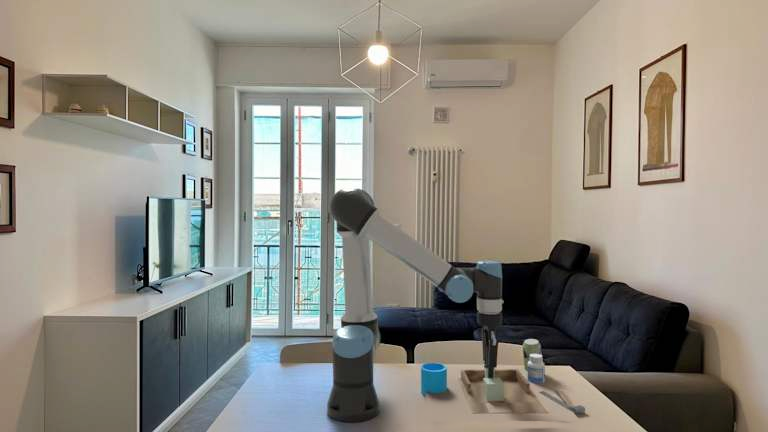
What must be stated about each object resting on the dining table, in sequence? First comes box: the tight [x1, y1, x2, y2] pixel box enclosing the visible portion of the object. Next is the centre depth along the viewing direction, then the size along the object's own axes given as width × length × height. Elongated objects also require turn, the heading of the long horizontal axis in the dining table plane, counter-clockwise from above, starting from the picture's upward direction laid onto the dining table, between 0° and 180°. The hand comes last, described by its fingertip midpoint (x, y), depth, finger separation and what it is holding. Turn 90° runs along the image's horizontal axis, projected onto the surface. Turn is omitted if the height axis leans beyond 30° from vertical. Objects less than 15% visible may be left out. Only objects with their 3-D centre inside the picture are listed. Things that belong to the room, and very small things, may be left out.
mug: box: [420, 362, 448, 397], centre depth 151 cm, size 12×8×8 cm
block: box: [483, 378, 504, 401], centre depth 141 cm, size 5×5×5 cm
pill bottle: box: [527, 354, 546, 384], centre depth 155 cm, size 6×5×10 cm
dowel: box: [556, 390, 575, 407], centre depth 141 cm, size 2×12×2 cm, turn 176°
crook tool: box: [538, 390, 586, 416], centre depth 139 cm, size 5×14×2 cm, turn 19°
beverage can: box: [522, 338, 542, 372], centre depth 165 cm, size 6×7×12 cm
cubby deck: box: [457, 368, 549, 414], centre depth 144 cm, size 21×26×4 cm
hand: (489, 387), depth 146 cm, fingers closed
